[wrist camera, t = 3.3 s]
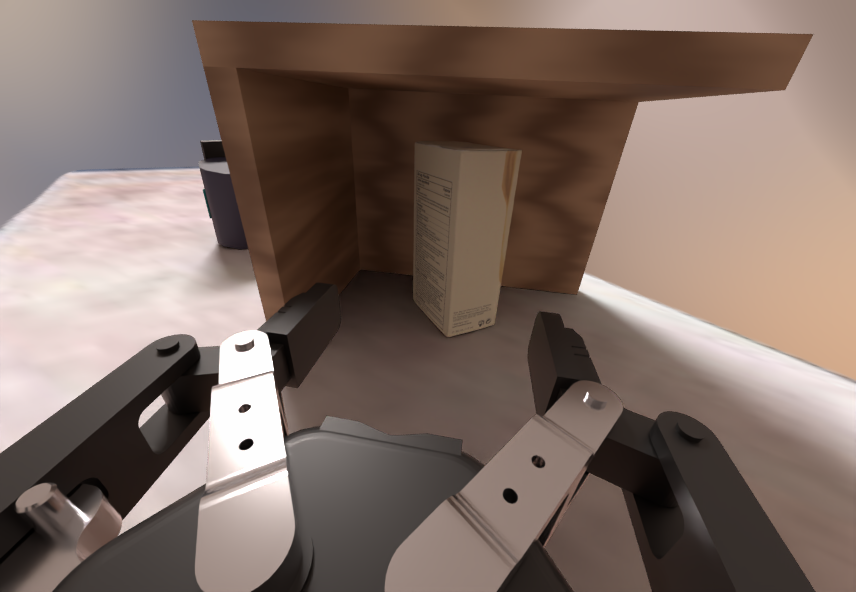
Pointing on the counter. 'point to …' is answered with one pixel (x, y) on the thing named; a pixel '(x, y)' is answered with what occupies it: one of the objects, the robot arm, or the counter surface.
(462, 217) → the skincare box
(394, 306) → the counter surface
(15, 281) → the counter surface
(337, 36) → the walnut shelf
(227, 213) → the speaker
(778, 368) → the counter surface
